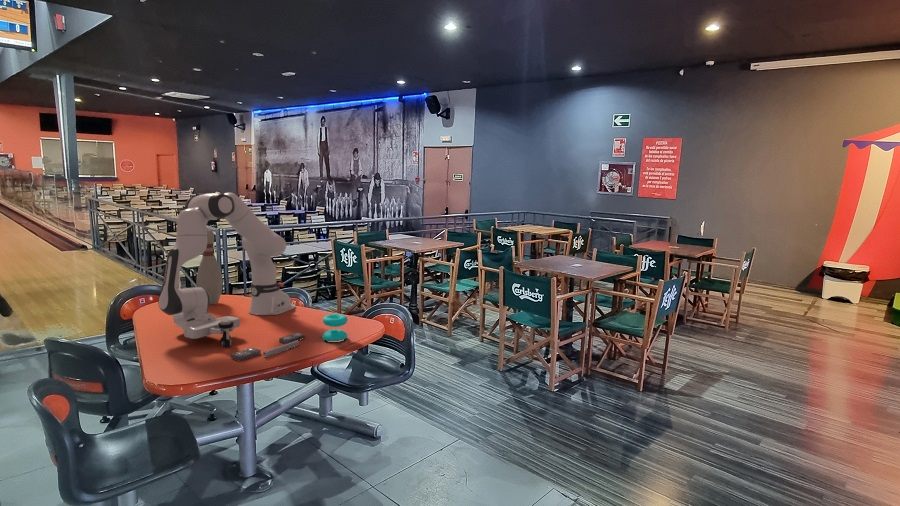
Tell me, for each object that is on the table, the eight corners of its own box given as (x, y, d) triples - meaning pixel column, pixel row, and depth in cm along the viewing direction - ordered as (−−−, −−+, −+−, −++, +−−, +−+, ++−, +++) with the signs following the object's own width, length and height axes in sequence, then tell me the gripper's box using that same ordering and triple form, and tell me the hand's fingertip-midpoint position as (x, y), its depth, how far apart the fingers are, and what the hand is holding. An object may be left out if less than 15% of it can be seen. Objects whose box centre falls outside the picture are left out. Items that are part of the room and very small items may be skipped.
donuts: (318, 318, 195) (329, 312, 204) (318, 342, 196) (329, 334, 206) (341, 321, 192) (351, 314, 202) (340, 344, 194) (351, 337, 204)
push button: (214, 344, 188) (214, 319, 187) (228, 341, 192) (228, 317, 191) (222, 348, 184) (221, 323, 182) (236, 345, 188) (235, 320, 186)
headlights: (296, 336, 202) (296, 331, 201) (312, 340, 197) (312, 336, 197) (230, 358, 175) (230, 353, 175) (248, 364, 170) (248, 358, 170)
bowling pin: (192, 305, 240) (189, 229, 234) (207, 300, 251) (205, 227, 245) (212, 307, 238) (210, 231, 232) (227, 301, 249) (225, 228, 243)
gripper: (227, 325, 203) (249, 331, 196) (180, 338, 185) (202, 345, 178) (227, 310, 202) (249, 316, 195) (179, 322, 184) (202, 329, 177)
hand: (226, 330), depth 187 cm, fingers closed on push button, 3 cm apart
